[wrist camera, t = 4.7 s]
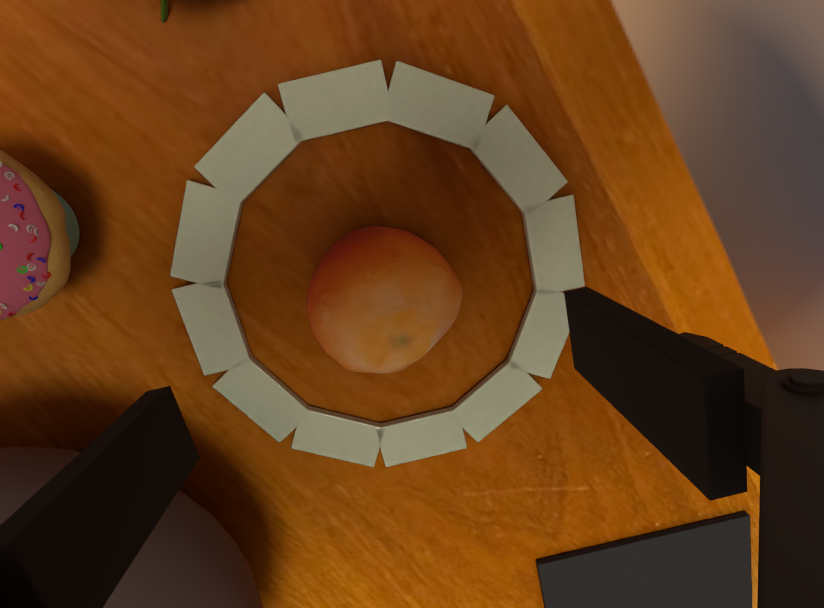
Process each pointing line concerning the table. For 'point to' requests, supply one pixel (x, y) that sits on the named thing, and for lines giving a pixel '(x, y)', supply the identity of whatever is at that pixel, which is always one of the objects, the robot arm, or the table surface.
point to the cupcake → (32, 240)
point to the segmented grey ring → (344, 111)
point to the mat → (657, 569)
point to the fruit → (381, 299)
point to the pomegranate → (164, 10)
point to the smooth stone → (150, 544)
